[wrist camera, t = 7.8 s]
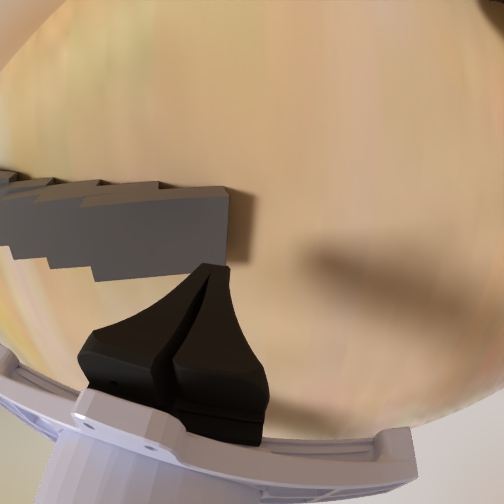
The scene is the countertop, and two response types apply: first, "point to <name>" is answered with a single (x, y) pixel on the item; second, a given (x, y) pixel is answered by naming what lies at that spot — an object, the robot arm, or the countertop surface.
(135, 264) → the domino
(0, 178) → the domino
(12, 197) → the domino
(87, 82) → the countertop surface
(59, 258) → the domino
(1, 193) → the domino
